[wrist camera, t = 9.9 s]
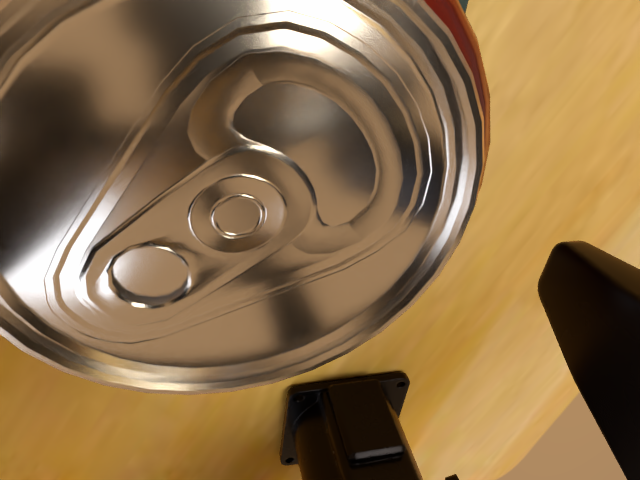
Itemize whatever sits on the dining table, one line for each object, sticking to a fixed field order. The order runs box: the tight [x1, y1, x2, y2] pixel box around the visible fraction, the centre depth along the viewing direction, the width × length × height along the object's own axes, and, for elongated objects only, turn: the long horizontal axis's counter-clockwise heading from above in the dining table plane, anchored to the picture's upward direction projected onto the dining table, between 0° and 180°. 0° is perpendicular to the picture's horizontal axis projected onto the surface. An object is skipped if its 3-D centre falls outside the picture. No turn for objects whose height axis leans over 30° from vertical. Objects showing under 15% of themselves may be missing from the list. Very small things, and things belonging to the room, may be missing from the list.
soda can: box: [0, 0, 490, 395], centre depth 12 cm, size 7×7×12 cm
